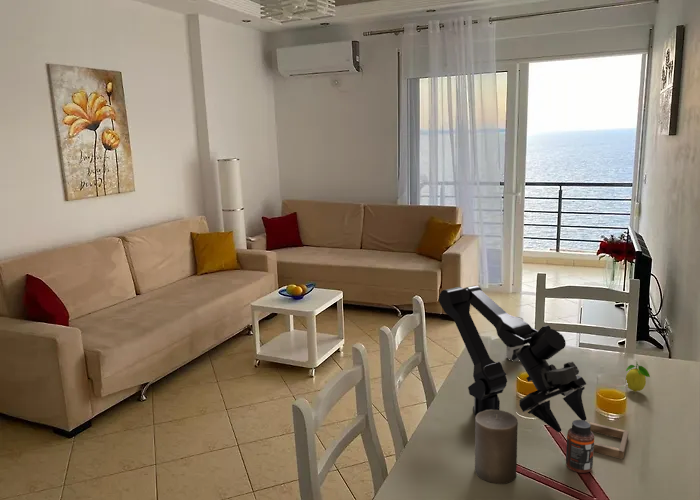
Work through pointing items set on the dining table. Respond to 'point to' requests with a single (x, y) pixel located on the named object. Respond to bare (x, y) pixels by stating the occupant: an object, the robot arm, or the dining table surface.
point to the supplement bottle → (580, 447)
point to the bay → (615, 433)
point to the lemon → (636, 377)
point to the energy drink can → (510, 349)
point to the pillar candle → (496, 446)
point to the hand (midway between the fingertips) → (572, 426)
